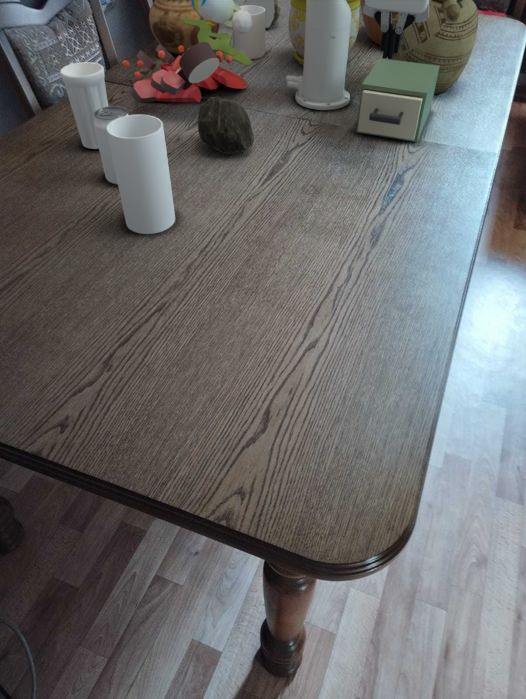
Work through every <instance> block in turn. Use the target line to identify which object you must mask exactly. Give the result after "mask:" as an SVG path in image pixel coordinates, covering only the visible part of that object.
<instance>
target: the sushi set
mask: <svg viewBox="0 0 526 699" xmlns="http://www.w3.org/2000/svg"><path fill="white" fill-rule="evenodd" d="M191 4H192V7H193V8H194V10H195V11H196V12H197V14H198V15H199V16H200V17H201V18H202V19H203V20H189V19H188V17H187V14H186V15H185V18H184V22H185V24H187V25H192V26H197V27H199V28H200V31H199V33H198V35H197V37H198V41H199V43H198V44H196V45H194V46H192V47H190V48H188V49H187V51H186V52H185V53H184V54H183V55H180V54H178V56H176V58H175V57H173V55H172V54H171V52H170V51H168V50H166V49H165V48H164V47H163V46H162V45H160V44H159V43H158V46H156V48H155V51H156V52H157V57H158V58H160V59H162V60H163V61H164V62H165V63H162V64H159V66H160V70H158V71H154V70H155V69H156V67H157V66H158V65H157V64H156V63H155V62H154V61H153V60H152V59H151V58H150V57H149V56H148V55H147V54H146V53H145V52H144V51H142V50H139V52H137V54H136V57H137V58H138V59H139V60H138V61H137V62H136V65H137V67H138V68H143V67H146V68H147V69H148V70H150V71H152V72H153V71H154V73H152V76H151V77H150V78H143V79H141V80H140V78H141V77H142V74H141V72H140V71H135V72H134V74H133V76H134V78H135V79H136V80H137V81H136V82H135V83H134V84H133V86H132V87H131V89H130V93H131V95H132V96H133V97H134V99H135V100H136V102H138V104H142V103H151V102H164V103H200V102H201V99H202V93H201V89H200V87H201V88H204V89H206V90H207V89H208V90H211V91H212V90H216V89H217V88H218V87H220V83H221V84H222V85H224V86H226V87H228V88H232V89H245V88H246V87H247V86H248V83H247V82H246V81H245V79H244V77H242V76H240V75H239V74H238V73H236V72H234V71H232V70H229V69H227V68H225V67H222V66H220V64H221V63H223V62H224V61H225V62H226V63H228V64H231V63H232V62H233V61H234V62H236V63H239V64H241V65H244V66H246V67H247V66H248V67H249V66H250V65H252V64H254V61H253V60H252V59H249V58H248V57H247V56H246V55H245V54H244V53H243V52H242V51H237V50H236V49H234V48H233V45H231V43H232V40H233V36H231V35H230V34H228V33H227V32H226V33H225V32H218V33H212V31H211V26H214V25H216V24H218V23H220V24H221V25H222V24H224V25H225V26H227V27H228V28H232V30H233V29H234V30H235V31H236V32H238V33H240V34H244V33H247V32H248V31H249V30H250V29H251V26H252V24H253V22H252V17H251V15H250V14H249V13H248V12H247V11H245V10H243V9H242V10H241V8H240V7H239V6H240V5H238V4H237V3H235V2H234V1H233V0H191ZM205 20H206V21H205ZM207 21H208V22H207ZM209 36H210V37H214V38H216V40H213V39H212V38H210V37H209ZM178 51H179V52H183V51H184V47H183V46H179V47H178ZM121 65H122V67H123V68H128V67H129V66H130V63H129V61H128V60H127V59H124V60H123V61H122V62H121ZM138 79H139V80H138Z"/></svg>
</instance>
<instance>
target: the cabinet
mask: <svg viewBox="0 0 526 699" xmlns="http://www.w3.org/2000/svg"><path fill="white" fill-rule="evenodd" d="M439 67H440V66H437V65H429V64H421V63H413V62H406V61H398V60H390V59H389V58H386V59H382V57H380V58H379V59H378V60H377V62H376V63H375V64H374V66H373V68H372V69H371V70H370V72H369V73H368V74H367V76H366V77H365V79H364V80H363V82H362V83H361V90H360V96H359V105H358V112H357V121H356V131H355V133H358V134H363V135H369V136H376V137H380V138H381V137H382V138H388V139H393V140H394V139H395V140H401V141H406V142H412V143H418V141H419V138H420V137H421V134H422V132H423V129H424V127H425V125H426V122H427V120H428V118H429V116H430V113H431V110H432V104H433V100H434V96H435V94H434V91H435V86H436V81H437V77H438V72H439ZM364 90H368V91H369V90H375V91H382V92H389V93H396V94H403V95H410V96H417V97H421V98H423V99H422V104H421V109H420V114H419V119H418V124H417V129H416V134H415V138H414V140H408V139H402V138H396V137H390V136H384V135H377V134H371V133H365V132H359V131H358V124H359V116H360V108H361V100H362V92H363V91H364Z"/></svg>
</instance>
